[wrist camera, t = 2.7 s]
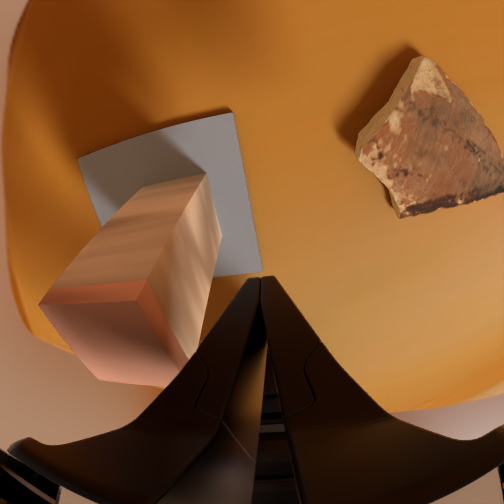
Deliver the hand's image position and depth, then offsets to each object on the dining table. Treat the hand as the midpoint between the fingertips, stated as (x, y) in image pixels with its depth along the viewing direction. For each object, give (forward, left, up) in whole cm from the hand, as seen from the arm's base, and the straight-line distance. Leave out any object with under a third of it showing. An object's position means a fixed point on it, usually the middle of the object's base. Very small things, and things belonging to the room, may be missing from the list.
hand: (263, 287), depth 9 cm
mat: (0, +6, -8) cm, 10 cm away
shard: (+3, -12, -9) cm, 16 cm away
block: (0, +5, -8) cm, 9 cm away
